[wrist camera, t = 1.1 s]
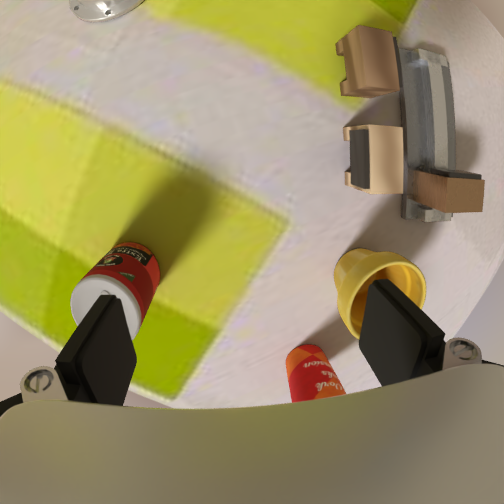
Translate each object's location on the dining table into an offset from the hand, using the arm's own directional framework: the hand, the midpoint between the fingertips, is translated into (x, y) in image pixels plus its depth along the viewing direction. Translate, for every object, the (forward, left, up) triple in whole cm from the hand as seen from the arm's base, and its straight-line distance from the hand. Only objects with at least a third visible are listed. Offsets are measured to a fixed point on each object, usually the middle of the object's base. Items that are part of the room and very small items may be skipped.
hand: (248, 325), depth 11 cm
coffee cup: (+24, +9, -25) cm, 36 cm away
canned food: (+7, -13, -25) cm, 29 cm away
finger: (-16, +16, -25) cm, 33 cm away
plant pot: (+10, +16, -25) cm, 31 cm away
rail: (-8, +27, -25) cm, 37 cm away
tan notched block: (-5, +16, -25) cm, 30 cm away
